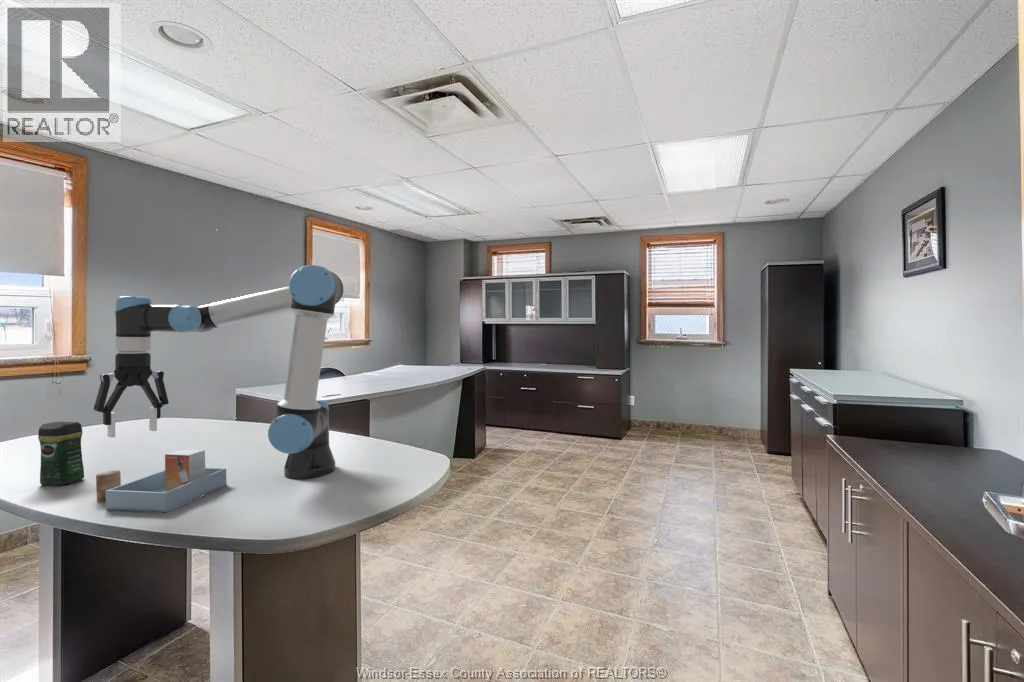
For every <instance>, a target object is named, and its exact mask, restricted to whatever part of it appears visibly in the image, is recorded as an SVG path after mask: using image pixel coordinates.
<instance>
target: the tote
mask: <svg viewBox="0 0 1024 682" xmlns="http://www.w3.org/2000/svg"><path fill="white" fill-rule="evenodd" d="M225 485H226V486H228V484H227V468H222V467H221V468H220V467H219V468H218V467H217V468H216V467H205V476H204V477H202V478H199V479H197V480H194V481H192V482H189V483H187V484H184V485H182V486H180V487H177V488H175V489H172V490H165V469H164V470H161V471H159V472H155V473H152V474H150V475H146V476H144V477H140V478H138V479H135V480H131V481H129V482H126V483H123V484H121V485H120V486H117V487H115V488H112V489H109V490H106V491H105V493H106V502H105V510H106V511H117V510H127V511H126V512H136V511H147V512H146V513H155V512H167V511H169V510H171V511H173V510H175V509H177V508H176V507H178V506H180V507H181V505H182V506H184V505H186V504H188V503H187V502H189V501H191V500H193V499H195V500H197V499H199V498H198V497H200V496H202V495H204V496H205V494H206V495H208V494H207V493H209V492H211V491H213V492H215V491H217V490H219V488H220V489H222V488H223V486H224V487H226V486H225ZM221 487H222V488H221ZM216 489H217V490H216ZM214 490H215V491H214ZM211 493H212V492H211ZM209 494H210V493H209ZM202 497H203V496H202ZM196 498H197V499H196ZM200 498H201V497H200ZM193 501H194V500H193ZM191 502H192V501H191ZM185 503H186V504H185ZM189 503H190V502H189ZM183 504H184V505H183ZM174 508H175V509H174ZM178 508H179V507H178ZM172 509H173V510H172ZM169 512H170V511H169ZM167 513H168V512H167Z"/></svg>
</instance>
